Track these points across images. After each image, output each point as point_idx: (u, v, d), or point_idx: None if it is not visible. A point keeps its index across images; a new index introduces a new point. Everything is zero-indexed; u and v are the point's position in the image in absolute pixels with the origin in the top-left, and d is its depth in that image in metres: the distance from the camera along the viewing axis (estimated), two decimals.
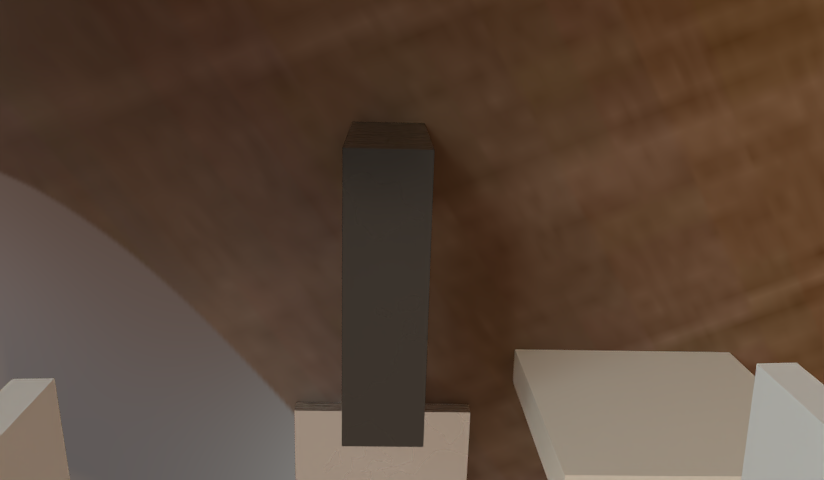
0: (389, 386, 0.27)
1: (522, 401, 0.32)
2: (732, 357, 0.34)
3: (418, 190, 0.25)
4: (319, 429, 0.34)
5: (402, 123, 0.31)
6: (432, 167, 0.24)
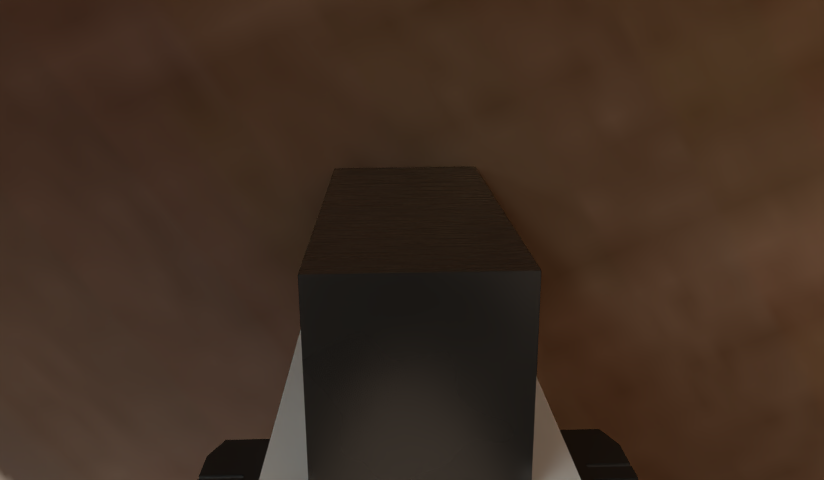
0: None
1: None
2: None
3: (499, 372, 0.10)
4: None
5: (432, 169, 0.16)
6: (535, 314, 0.09)
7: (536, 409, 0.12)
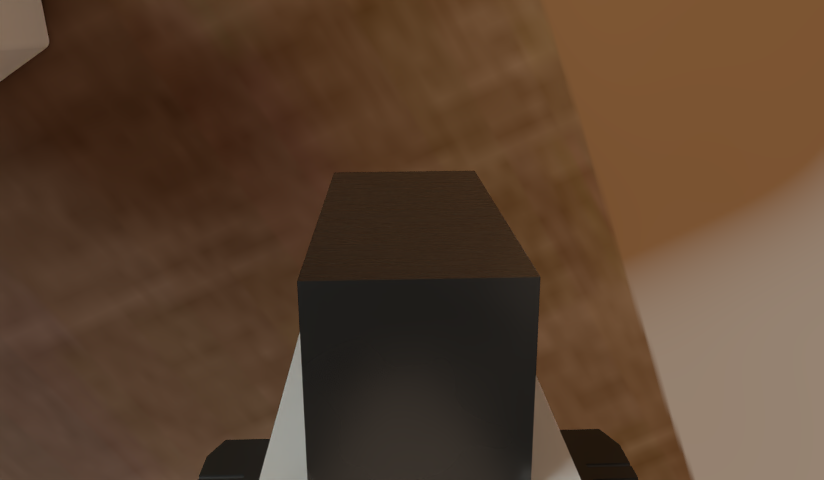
0: None
1: None
2: None
3: (498, 378, 0.10)
4: None
5: (432, 173, 0.16)
6: (534, 320, 0.09)
7: (536, 408, 0.12)
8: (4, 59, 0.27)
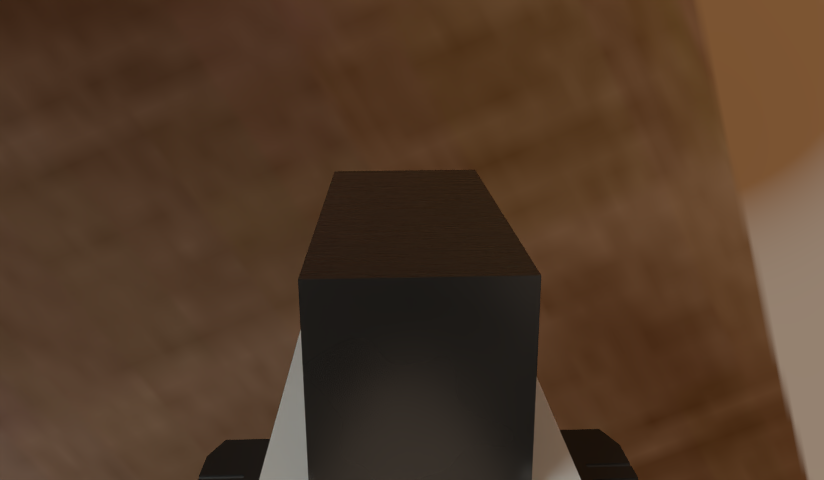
0: None
1: None
2: None
3: (498, 376, 0.10)
4: None
5: (432, 172, 0.16)
6: (535, 319, 0.09)
7: (536, 409, 0.12)
8: None
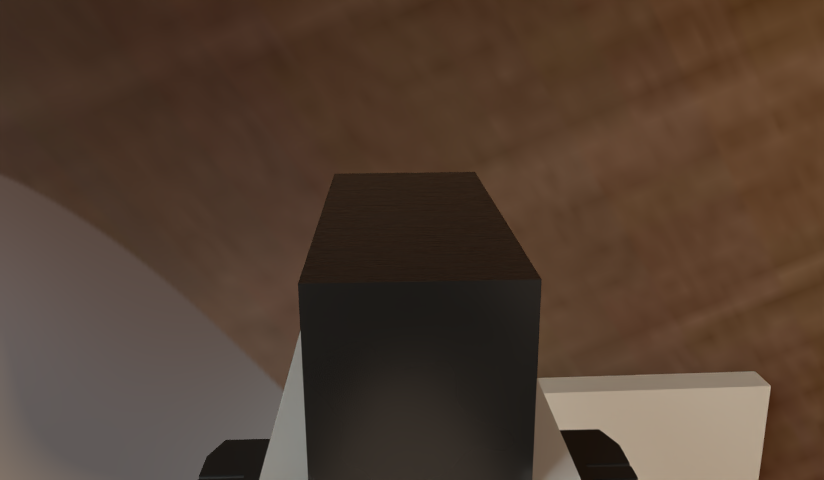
0: None
1: None
2: (766, 398, 0.32)
3: (498, 380, 0.10)
4: None
5: (432, 174, 0.16)
6: (535, 323, 0.09)
7: (536, 408, 0.12)
8: None
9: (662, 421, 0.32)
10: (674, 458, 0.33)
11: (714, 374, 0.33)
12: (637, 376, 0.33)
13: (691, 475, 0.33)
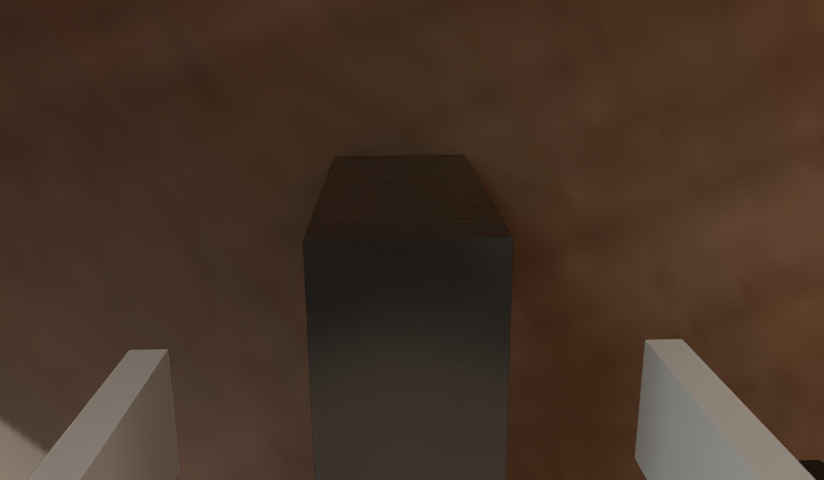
0: None
1: None
2: None
3: (477, 326, 0.11)
4: None
5: (424, 157, 0.17)
6: (509, 275, 0.11)
7: (762, 439, 0.11)
8: None
9: None
10: None
11: None
12: None
13: None
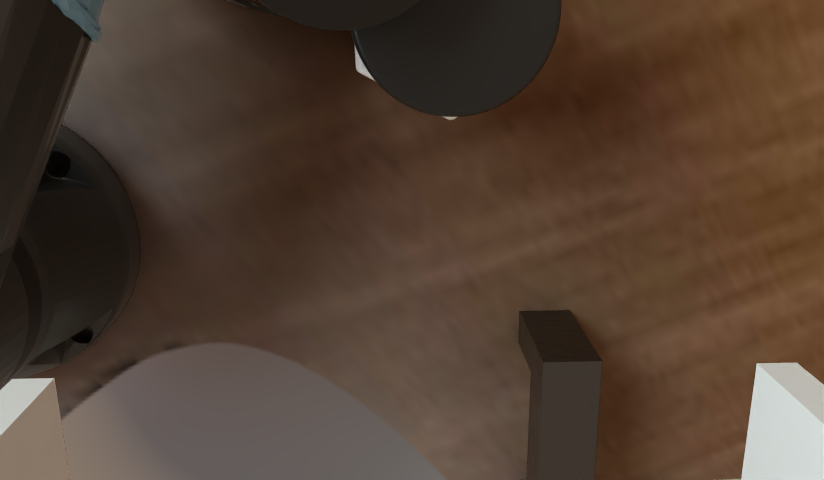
0: None
1: None
2: None
3: (590, 385, 0.38)
4: None
5: (554, 311, 0.44)
6: (600, 371, 0.38)
7: None
8: None
9: None
10: None
11: None
12: None
13: None
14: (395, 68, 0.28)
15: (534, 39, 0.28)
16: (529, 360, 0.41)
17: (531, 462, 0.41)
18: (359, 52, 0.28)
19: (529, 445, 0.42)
